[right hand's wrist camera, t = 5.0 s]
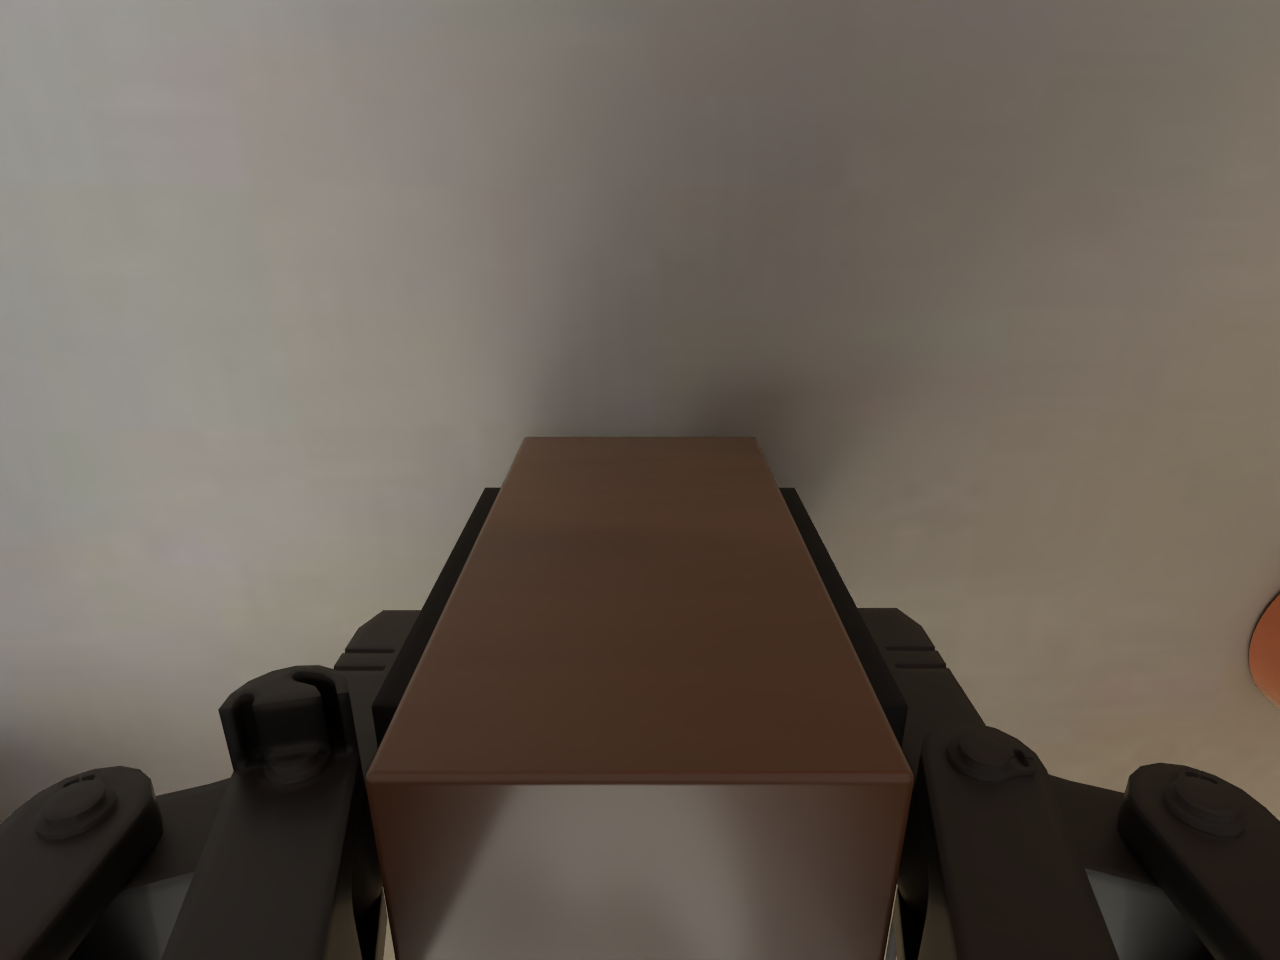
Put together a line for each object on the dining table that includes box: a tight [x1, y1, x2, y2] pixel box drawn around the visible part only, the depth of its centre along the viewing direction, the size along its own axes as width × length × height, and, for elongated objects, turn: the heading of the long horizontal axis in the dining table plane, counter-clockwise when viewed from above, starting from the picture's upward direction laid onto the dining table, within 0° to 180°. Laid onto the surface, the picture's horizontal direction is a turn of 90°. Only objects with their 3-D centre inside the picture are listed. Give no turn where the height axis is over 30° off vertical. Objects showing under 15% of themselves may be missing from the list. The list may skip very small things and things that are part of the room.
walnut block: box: [365, 437, 914, 960], centre depth 11 cm, size 4×4×9 cm
